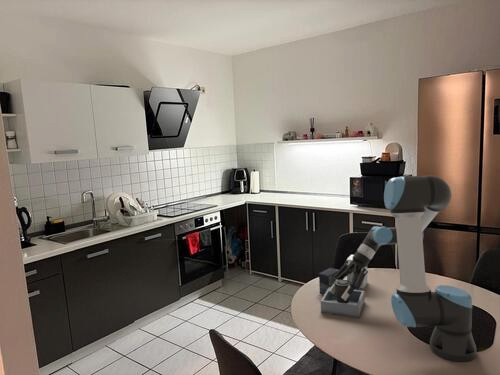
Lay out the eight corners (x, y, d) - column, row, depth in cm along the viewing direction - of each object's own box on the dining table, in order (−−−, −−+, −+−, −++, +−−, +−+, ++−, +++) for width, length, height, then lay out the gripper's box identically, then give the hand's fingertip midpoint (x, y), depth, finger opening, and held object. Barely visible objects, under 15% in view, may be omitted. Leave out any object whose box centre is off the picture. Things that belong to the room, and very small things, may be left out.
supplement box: (351, 280, 210) (350, 254, 208) (367, 282, 205) (367, 256, 203) (346, 286, 202) (345, 259, 200) (363, 289, 198) (363, 261, 196)
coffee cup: (331, 302, 178) (330, 281, 177) (339, 296, 184) (339, 276, 183) (346, 306, 173) (346, 285, 171) (355, 300, 178) (354, 280, 177)
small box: (330, 286, 204) (329, 267, 203) (341, 289, 199) (340, 269, 198) (318, 292, 197) (318, 272, 195) (329, 295, 192) (329, 275, 191)
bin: (359, 317, 167) (358, 306, 167) (320, 312, 174) (320, 301, 174) (364, 301, 183) (364, 291, 182) (329, 297, 190) (328, 286, 189)
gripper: (384, 266, 173) (357, 308, 168) (353, 254, 192) (328, 292, 187) (375, 257, 170) (347, 299, 166) (344, 246, 189) (318, 284, 184)
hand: (337, 295), depth 176 cm, fingers closed on coffee cup, 8 cm apart
